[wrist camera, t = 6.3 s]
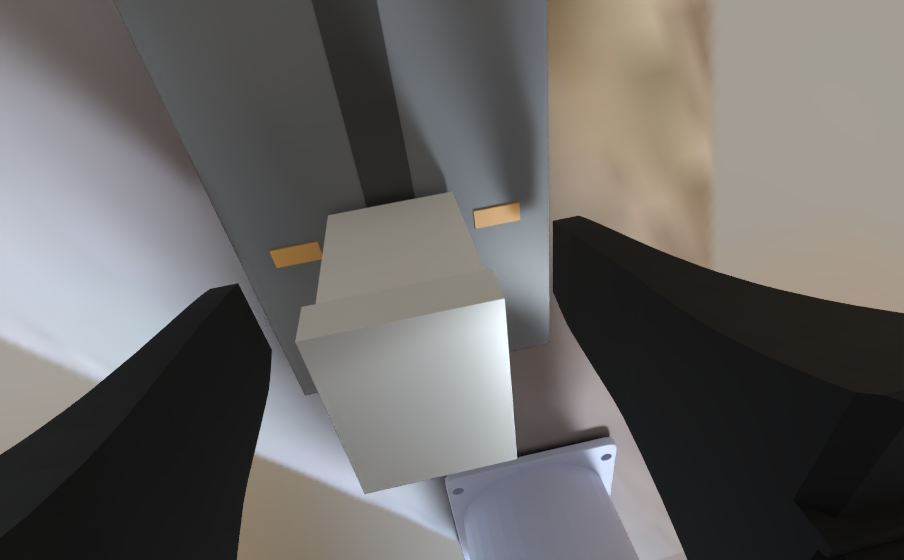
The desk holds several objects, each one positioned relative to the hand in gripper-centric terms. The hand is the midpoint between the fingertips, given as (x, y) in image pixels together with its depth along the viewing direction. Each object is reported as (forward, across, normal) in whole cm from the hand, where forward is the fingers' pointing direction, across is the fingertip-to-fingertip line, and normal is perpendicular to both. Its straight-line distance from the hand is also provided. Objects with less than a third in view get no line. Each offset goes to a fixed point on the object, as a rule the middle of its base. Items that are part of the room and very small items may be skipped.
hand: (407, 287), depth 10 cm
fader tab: (+1, 0, 0) cm, 1 cm away
